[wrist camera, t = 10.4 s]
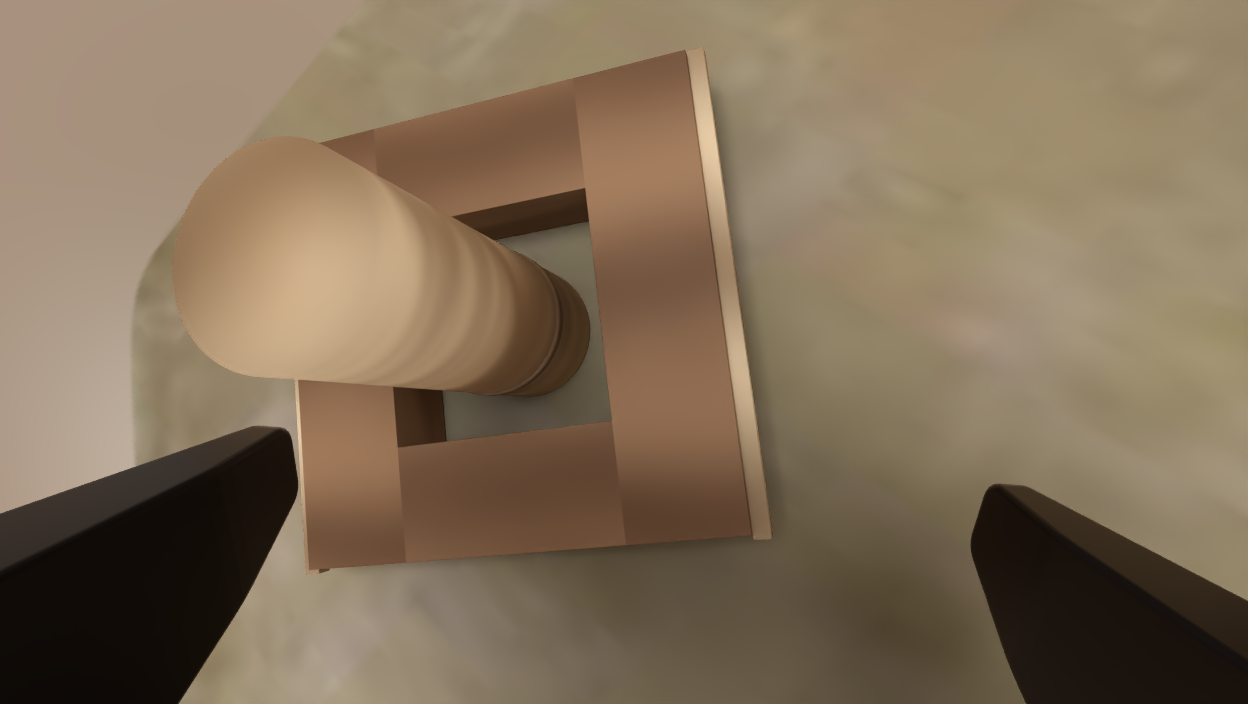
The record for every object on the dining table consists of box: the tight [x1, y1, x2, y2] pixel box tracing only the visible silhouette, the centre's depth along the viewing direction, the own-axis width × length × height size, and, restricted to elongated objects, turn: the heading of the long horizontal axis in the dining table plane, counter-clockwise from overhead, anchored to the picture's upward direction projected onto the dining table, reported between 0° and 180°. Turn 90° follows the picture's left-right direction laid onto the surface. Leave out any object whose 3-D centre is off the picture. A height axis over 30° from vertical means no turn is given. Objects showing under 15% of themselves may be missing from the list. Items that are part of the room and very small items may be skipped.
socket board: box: [295, 47, 773, 574], centre depth 23 cm, size 14×15×3 cm
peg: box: [173, 137, 590, 396], centre depth 18 cm, size 4×4×12 cm
